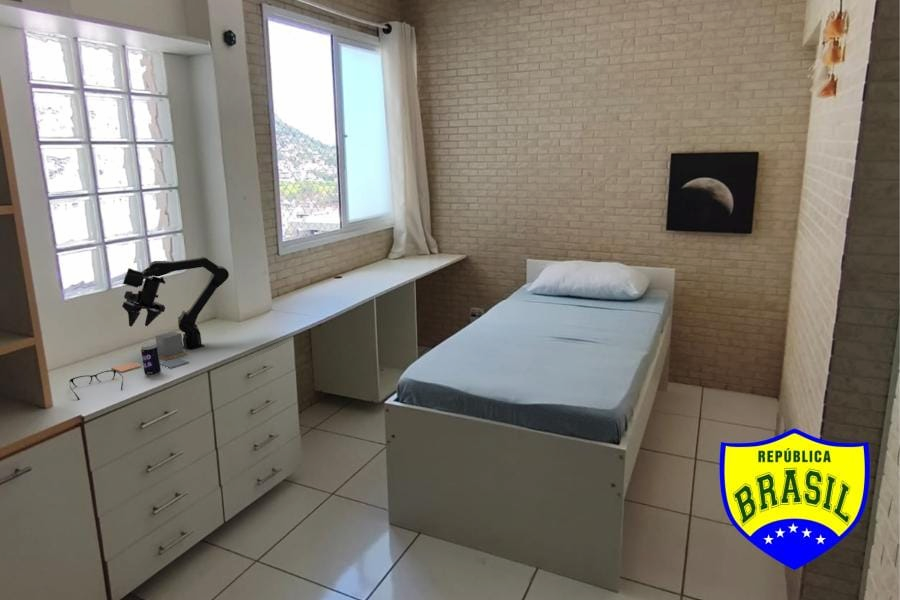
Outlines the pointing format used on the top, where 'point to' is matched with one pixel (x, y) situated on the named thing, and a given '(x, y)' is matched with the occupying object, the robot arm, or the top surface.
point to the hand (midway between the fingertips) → (138, 326)
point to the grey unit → (170, 345)
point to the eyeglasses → (91, 379)
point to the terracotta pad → (126, 367)
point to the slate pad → (174, 363)
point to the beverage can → (150, 359)
